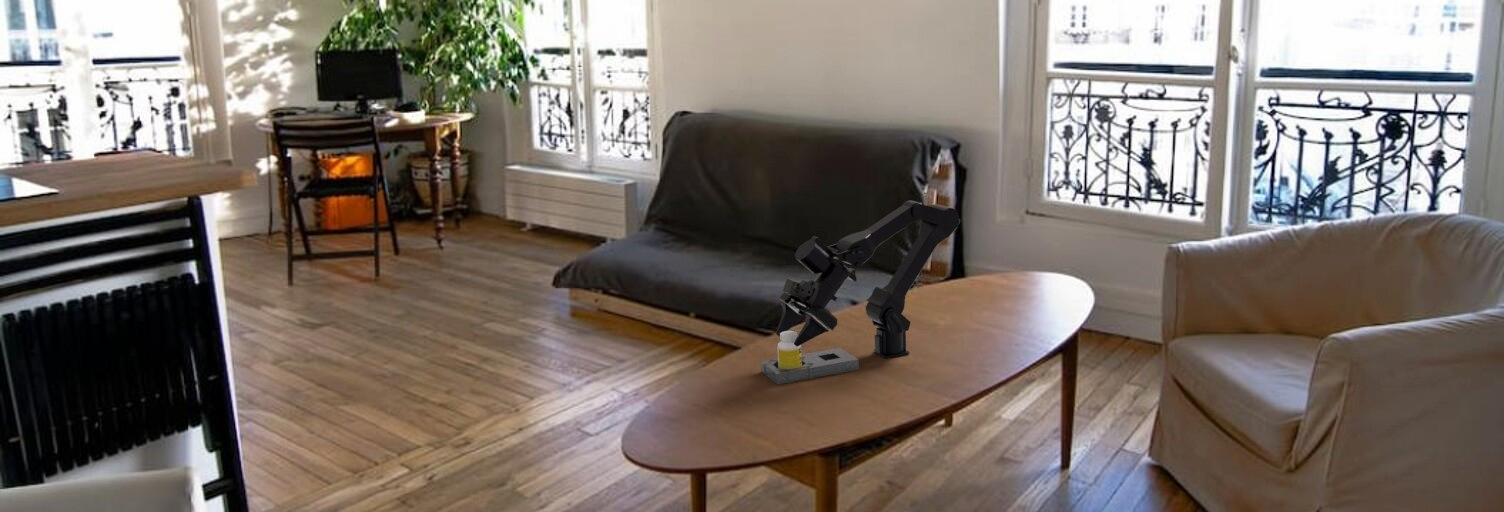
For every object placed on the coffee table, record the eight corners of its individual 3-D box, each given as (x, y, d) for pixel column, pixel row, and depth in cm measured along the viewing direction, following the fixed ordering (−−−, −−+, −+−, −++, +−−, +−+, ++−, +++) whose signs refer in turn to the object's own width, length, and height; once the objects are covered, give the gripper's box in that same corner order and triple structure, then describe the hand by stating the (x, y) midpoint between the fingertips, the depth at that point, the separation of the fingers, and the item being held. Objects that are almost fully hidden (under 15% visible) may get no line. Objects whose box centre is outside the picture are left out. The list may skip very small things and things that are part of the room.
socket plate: (840, 357, 280) (839, 347, 279) (859, 369, 270) (858, 359, 270) (760, 371, 273) (760, 361, 272) (777, 384, 263) (776, 374, 263)
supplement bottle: (804, 376, 268) (802, 335, 266) (781, 379, 267) (779, 337, 265) (799, 369, 273) (797, 328, 271) (776, 372, 272) (774, 331, 270)
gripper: (784, 257, 274) (744, 311, 273) (822, 273, 258) (780, 330, 256) (816, 284, 279) (777, 337, 278) (855, 301, 263) (814, 358, 261)
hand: (786, 340), depth 268 cm, fingers open, 9 cm apart
